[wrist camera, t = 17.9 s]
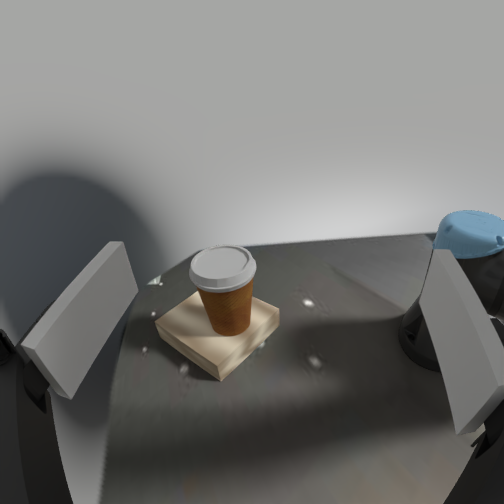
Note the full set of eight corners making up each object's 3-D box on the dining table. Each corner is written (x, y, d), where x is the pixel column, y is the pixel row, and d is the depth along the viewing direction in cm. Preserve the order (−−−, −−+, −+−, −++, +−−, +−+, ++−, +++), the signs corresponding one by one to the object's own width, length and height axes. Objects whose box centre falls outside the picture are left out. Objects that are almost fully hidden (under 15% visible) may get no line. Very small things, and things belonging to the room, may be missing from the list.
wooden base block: (217, 295, 62) (214, 279, 60) (279, 325, 54) (278, 308, 52) (160, 337, 53) (154, 321, 51) (221, 381, 44) (217, 365, 42)
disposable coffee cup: (225, 354, 44) (212, 291, 38) (191, 321, 50) (175, 261, 44) (273, 322, 49) (270, 259, 43) (236, 295, 55) (228, 236, 49)
